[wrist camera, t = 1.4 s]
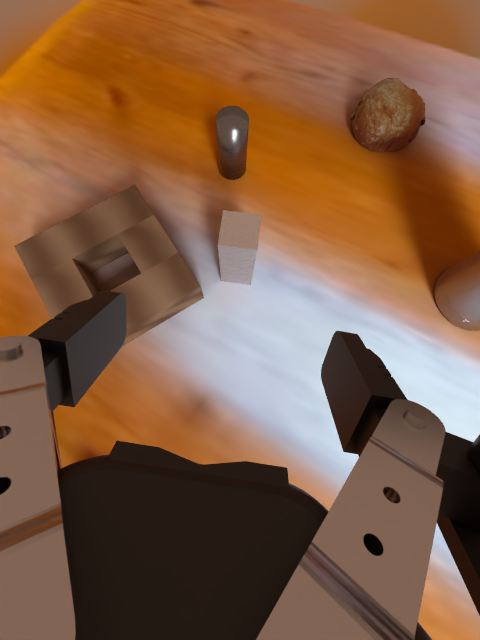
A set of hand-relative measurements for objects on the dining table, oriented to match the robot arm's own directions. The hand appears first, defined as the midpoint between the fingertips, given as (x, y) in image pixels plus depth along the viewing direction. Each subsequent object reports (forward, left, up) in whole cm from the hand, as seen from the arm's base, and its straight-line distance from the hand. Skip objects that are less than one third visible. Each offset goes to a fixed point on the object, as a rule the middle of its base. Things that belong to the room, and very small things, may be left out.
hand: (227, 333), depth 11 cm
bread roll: (-40, -19, -26) cm, 51 cm away
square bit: (-8, -11, -26) cm, 29 cm away
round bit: (-16, -25, -26) cm, 39 cm away
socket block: (+6, -18, -25) cm, 32 cm away
